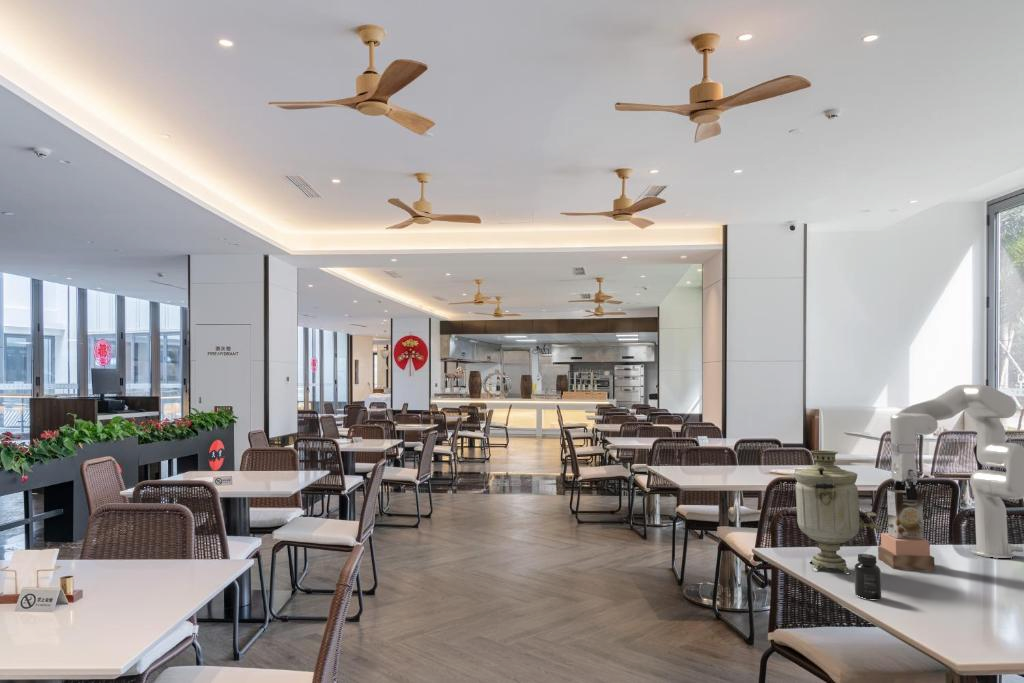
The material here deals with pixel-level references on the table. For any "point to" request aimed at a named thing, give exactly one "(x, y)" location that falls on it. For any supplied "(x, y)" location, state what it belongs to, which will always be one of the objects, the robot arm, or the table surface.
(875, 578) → the supplement bottle
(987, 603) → the table surface
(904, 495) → the coffee box
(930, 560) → the tower base block
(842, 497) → the samovar
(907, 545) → the tower top block
